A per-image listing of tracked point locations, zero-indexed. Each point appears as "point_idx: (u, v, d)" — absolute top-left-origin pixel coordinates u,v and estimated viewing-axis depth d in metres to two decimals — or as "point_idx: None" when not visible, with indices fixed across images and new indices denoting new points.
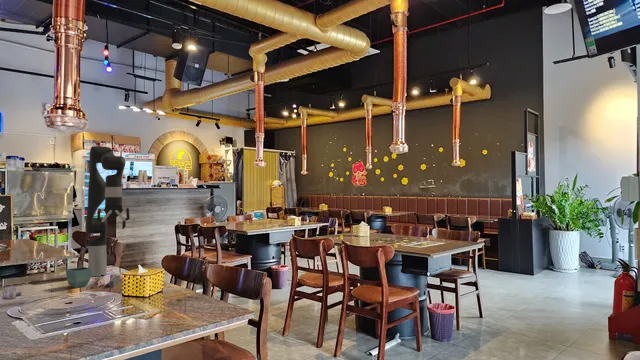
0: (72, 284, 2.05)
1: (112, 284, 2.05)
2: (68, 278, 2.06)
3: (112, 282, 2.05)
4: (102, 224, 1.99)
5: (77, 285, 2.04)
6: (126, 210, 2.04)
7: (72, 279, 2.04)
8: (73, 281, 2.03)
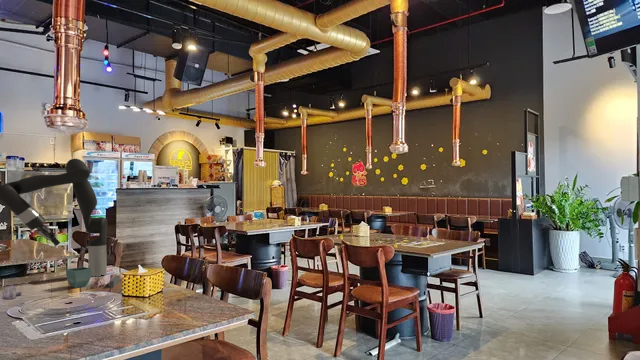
0: (72, 284, 2.05)
1: (112, 284, 2.05)
2: (68, 278, 2.06)
3: (112, 282, 2.05)
4: (56, 239, 2.02)
5: (77, 285, 2.04)
6: None
7: (72, 279, 2.04)
8: (73, 281, 2.03)
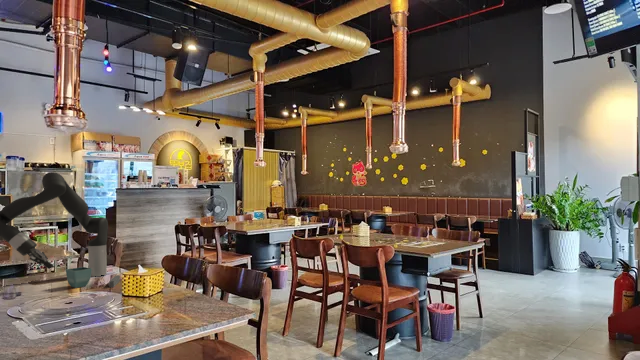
0: (72, 284, 2.05)
1: (112, 284, 2.05)
2: (68, 278, 2.06)
3: (112, 282, 2.05)
4: (47, 262, 2.03)
5: (77, 285, 2.04)
6: (42, 252, 2.08)
7: (72, 279, 2.04)
8: (73, 281, 2.03)
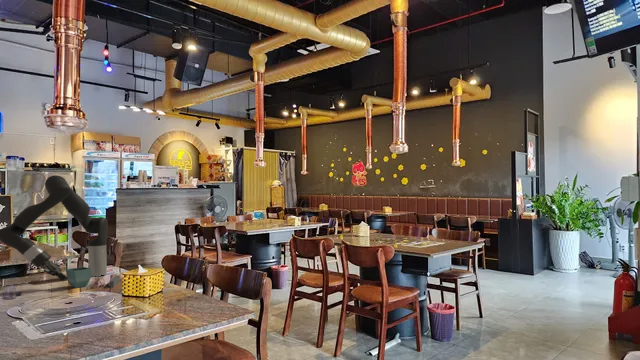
0: (72, 284, 2.05)
1: (112, 284, 2.05)
2: (68, 278, 2.06)
3: (112, 282, 2.05)
4: (61, 274, 2.05)
5: (77, 285, 2.04)
6: (56, 264, 2.09)
7: (72, 279, 2.04)
8: (73, 281, 2.03)
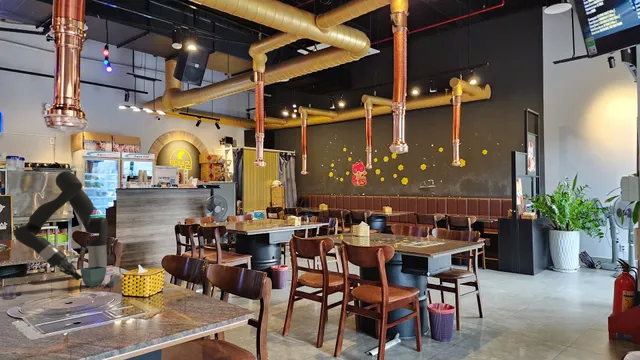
0: (87, 283, 2.07)
1: (112, 284, 2.05)
2: (83, 277, 2.07)
3: (112, 282, 2.05)
4: (76, 274, 2.06)
5: (92, 284, 2.06)
6: (71, 264, 2.11)
7: (87, 278, 2.06)
8: (88, 280, 2.05)
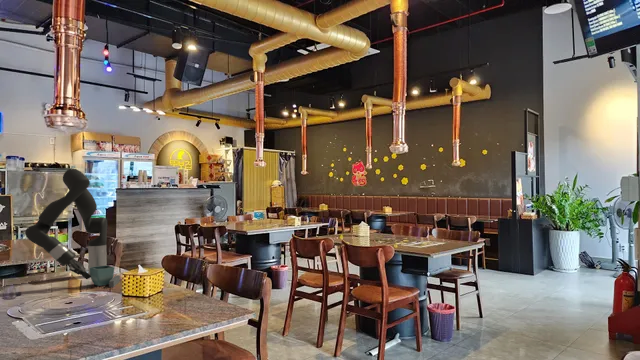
0: (95, 282, 2.08)
1: (112, 284, 2.05)
2: (91, 275, 2.09)
3: (112, 282, 2.05)
4: (85, 273, 2.08)
5: (100, 283, 2.07)
6: (80, 263, 2.13)
7: (95, 278, 2.07)
8: (96, 279, 2.06)
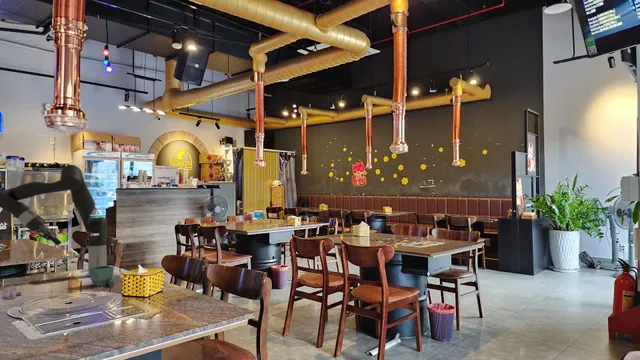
0: (95, 282, 2.08)
1: (112, 284, 2.05)
2: (91, 276, 2.09)
3: (112, 282, 2.05)
4: (56, 239, 2.05)
5: (100, 283, 2.07)
6: (51, 229, 2.10)
7: (95, 278, 2.07)
8: (96, 279, 2.06)
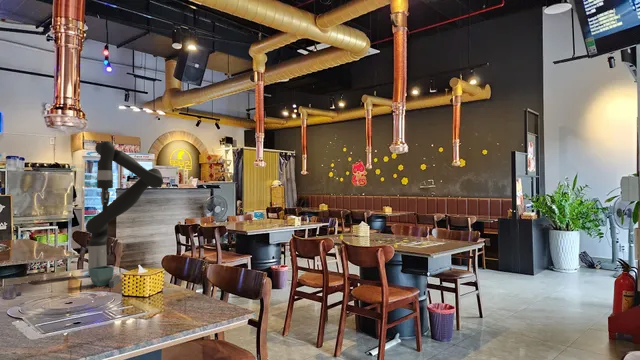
0: (95, 282, 2.08)
1: (112, 284, 2.05)
2: (91, 276, 2.09)
3: (112, 282, 2.05)
4: (106, 207, 2.17)
5: (100, 283, 2.07)
6: None
7: (95, 278, 2.07)
8: (96, 279, 2.06)
